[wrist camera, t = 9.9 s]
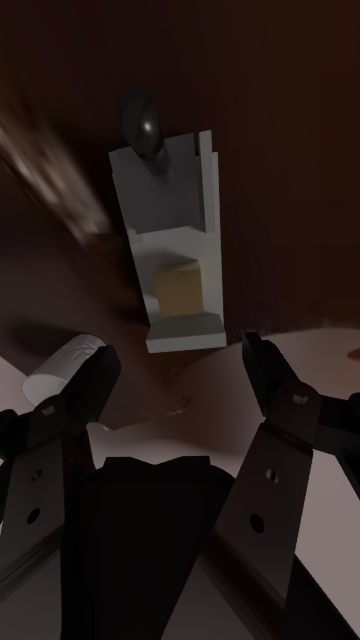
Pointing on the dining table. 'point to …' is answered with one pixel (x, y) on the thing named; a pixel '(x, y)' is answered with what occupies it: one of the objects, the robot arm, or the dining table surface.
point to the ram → (155, 167)
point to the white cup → (59, 368)
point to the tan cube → (179, 288)
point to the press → (182, 260)
